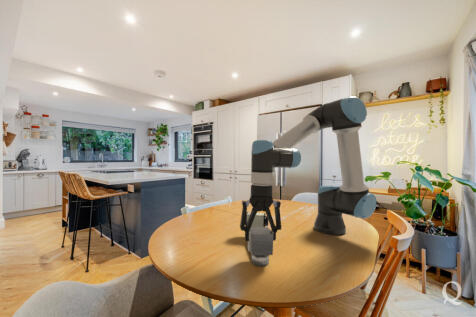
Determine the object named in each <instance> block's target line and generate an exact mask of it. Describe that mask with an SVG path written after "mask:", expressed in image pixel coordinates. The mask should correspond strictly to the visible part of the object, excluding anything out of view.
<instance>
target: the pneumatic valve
mask: <svg viewBox="0 0 476 317" xmlns="http://www.w3.org/2000/svg"><path fill="white" fill-rule="evenodd" d="M250 214H251V211H247V213H246V220H245V227H246V224H247V221H248V219H249V216H250ZM251 227H269V220H268V217H267V215H266V212H259V211H257V214H256V215H255V218H254V220H253V223H252V226H251Z"/></svg>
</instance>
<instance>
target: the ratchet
mask: <svg viewBox="0 0 476 317" xmlns="http://www.w3.org/2000/svg"><path fill="white" fill-rule="evenodd" d="M251 263H252V265H254V266H255V267H261V268H262V267H267V266H268V265H269V263H270V255H253V256H252V255H251Z"/></svg>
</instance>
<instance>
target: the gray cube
mask: <svg viewBox="0 0 476 317" xmlns="http://www.w3.org/2000/svg"><path fill="white" fill-rule="evenodd" d="M270 230H271V228H269V226H266V227H251V228H250V231H251V252H250V253H251V257H252V256H253V255H269V256H273V253H274V241H273V233H272V232H271V231H270Z"/></svg>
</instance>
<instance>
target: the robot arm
mask: <svg viewBox="0 0 476 317" xmlns="http://www.w3.org/2000/svg"><path fill="white" fill-rule="evenodd" d="M367 114H368V112H367V107H366V104H365V102H364V101H363V100H362V99H361V98H360V97H358V96H350V97H348V96H347V97H343V98H340V99H336V100H333V101H331V102H326V103H324V104H322V105H320V106H318V107H316V108H315V109H314V110H312V111H311V112H309V113H308V114H307V115H305V116H304V117H303V118H302V121H300V122H299V123H297V124H296V125H295V126H293V127H292V128H291V129H289V130H287V132H285V133H282V135H280V137H278V138H276V139H275V140H274V141H272V140H267V139H256V140H254V141H252V145H251V153H250V155H251V165H250V166H251V169H250V170H251V172H250V174H251V175H250V183H251V185H250V197H249V199H247V200H241V205H242V208H241V209H242V211H241V216H240V224H239V229H240V231H244V240H245V242H247V251H248V252H249V253H251V231H250V228H251V226H252V223H253V220H254V218H255V215H256V214H257V212H264V213H266V216H267V217H268V220H269V222H268V224H269V225H270V231H271V232H272V233H273V242H274V241H276V239H277V232H278V231H281V230H282V222H281V220H282V218H281V210H280V208H281V204H282V202H281V201H279V200H274V199H273V185H272V184H273V175H274V174H273V171H274V170H273V169H274V168H279V169H280V168H285V169H286V168H288V169H291V168H292V169H293V168H297V167H298V166H299V165H300V164H301V161H302V154H301V151H300V150H299V149H297V148H296V146H297V145H298V144H300V143H301V142H303V141H304V140H305V139H306V138H308V137H309V136H310V135H312V134H315V133H316V134H317V132H319V131H320V130H323V129H329V128H331V130H332V132H333V133H334V134H336V140H337V149H338V156H339V158H338V159H339V166H340V174H341V181H342V182H341V183H342V185H321V186H319V187H318V191H317V215H316V218H315V221H314V223H313V226H314V227H313V229H314V230H316V231H317V232H320V233H324V234H326V235H327V234H328V235H336V236H337V235H344V234H345V235H346V233H347V228H346V224H345V221H344V218H343V214H344V215H347V216H350V217H355V219H356V218H359V219H369V218H370V217H371V216H372V215H373V213H374V212H375V210H376V207H377V197H376V196H375V194H374V193H372V192H370V189H369V186H368V185H366V184H365V181H364V172H363V164H362V163H363V162H362V154H361V145H360V137H359V130H360V129H361V128H362V123H363V122H364V121H365V120H366V117H367ZM294 147H295V148H294ZM249 205H250V206H251V208H252V209H251V211H250V212H251V214H250V216H249V219H248V221H247V224H246V227H245V220H246V213H247V212H248V211H247V210H248V207H249ZM272 205H273V207H274V218H275V221H274V218H273V216H272V212H271V209H270V207H271V206H272Z"/></svg>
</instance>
